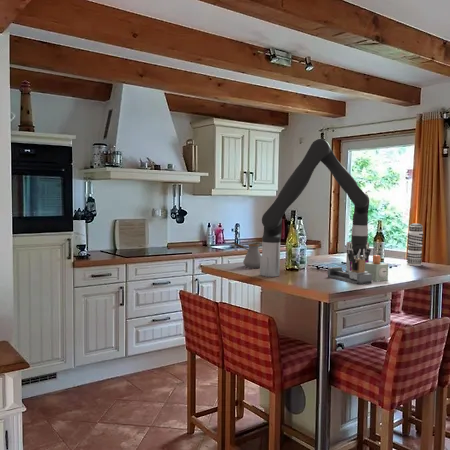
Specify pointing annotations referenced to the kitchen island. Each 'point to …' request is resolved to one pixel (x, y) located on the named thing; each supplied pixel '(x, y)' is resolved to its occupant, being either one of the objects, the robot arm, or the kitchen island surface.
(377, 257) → the button
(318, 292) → the kitchen island surface
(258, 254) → the coffee pot
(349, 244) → the candy bar box
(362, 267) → the carriage
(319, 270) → the kitchen island surface
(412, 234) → the decorative candle
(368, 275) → the rail
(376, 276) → the gauge cabinet
